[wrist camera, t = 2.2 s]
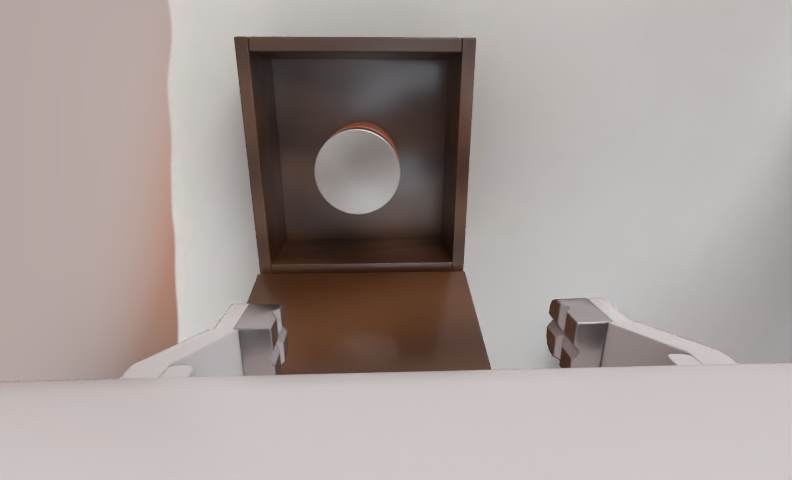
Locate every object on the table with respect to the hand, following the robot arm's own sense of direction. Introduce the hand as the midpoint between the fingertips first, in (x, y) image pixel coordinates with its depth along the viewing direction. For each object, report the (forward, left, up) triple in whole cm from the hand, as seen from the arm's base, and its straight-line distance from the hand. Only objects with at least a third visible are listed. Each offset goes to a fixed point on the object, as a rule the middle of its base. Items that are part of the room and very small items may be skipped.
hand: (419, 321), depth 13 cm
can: (+1, -3, -25) cm, 25 cm away
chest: (+1, -3, -26) cm, 26 cm away
